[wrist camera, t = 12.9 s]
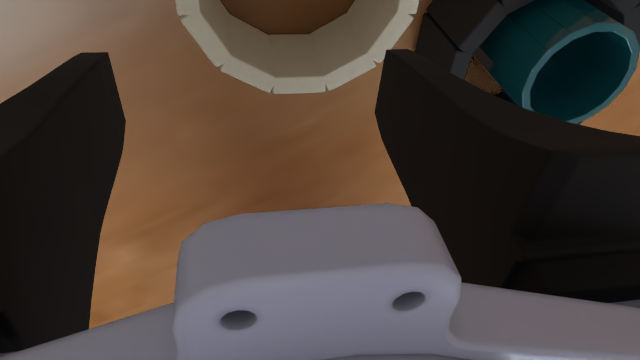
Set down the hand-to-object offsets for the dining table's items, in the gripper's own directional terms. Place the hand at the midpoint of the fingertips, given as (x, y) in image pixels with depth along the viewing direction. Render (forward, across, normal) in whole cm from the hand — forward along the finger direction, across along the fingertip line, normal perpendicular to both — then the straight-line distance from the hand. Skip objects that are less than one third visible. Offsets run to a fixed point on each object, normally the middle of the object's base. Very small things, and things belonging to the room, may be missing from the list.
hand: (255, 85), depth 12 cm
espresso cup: (+9, -13, +2) cm, 16 cm away
